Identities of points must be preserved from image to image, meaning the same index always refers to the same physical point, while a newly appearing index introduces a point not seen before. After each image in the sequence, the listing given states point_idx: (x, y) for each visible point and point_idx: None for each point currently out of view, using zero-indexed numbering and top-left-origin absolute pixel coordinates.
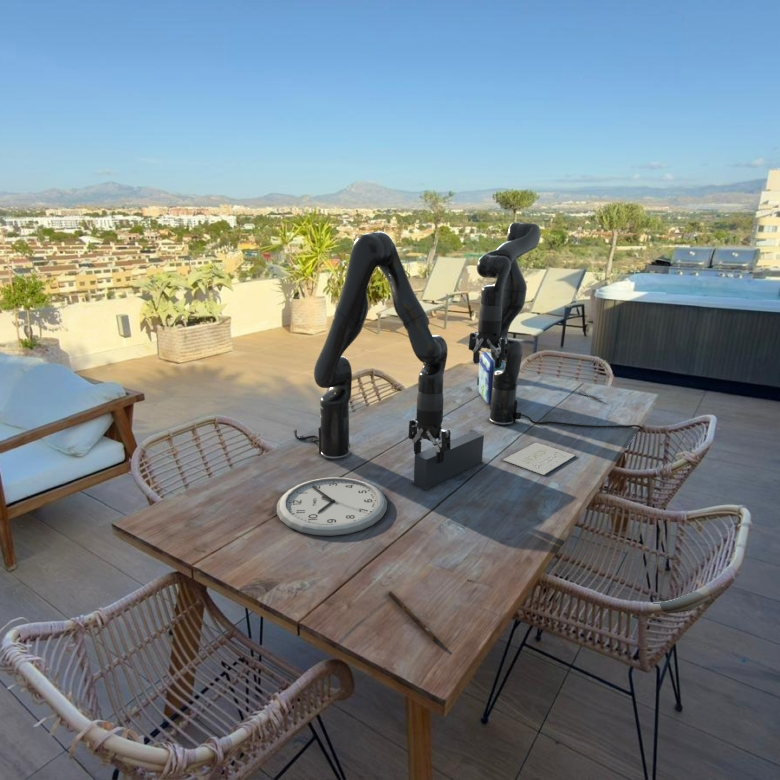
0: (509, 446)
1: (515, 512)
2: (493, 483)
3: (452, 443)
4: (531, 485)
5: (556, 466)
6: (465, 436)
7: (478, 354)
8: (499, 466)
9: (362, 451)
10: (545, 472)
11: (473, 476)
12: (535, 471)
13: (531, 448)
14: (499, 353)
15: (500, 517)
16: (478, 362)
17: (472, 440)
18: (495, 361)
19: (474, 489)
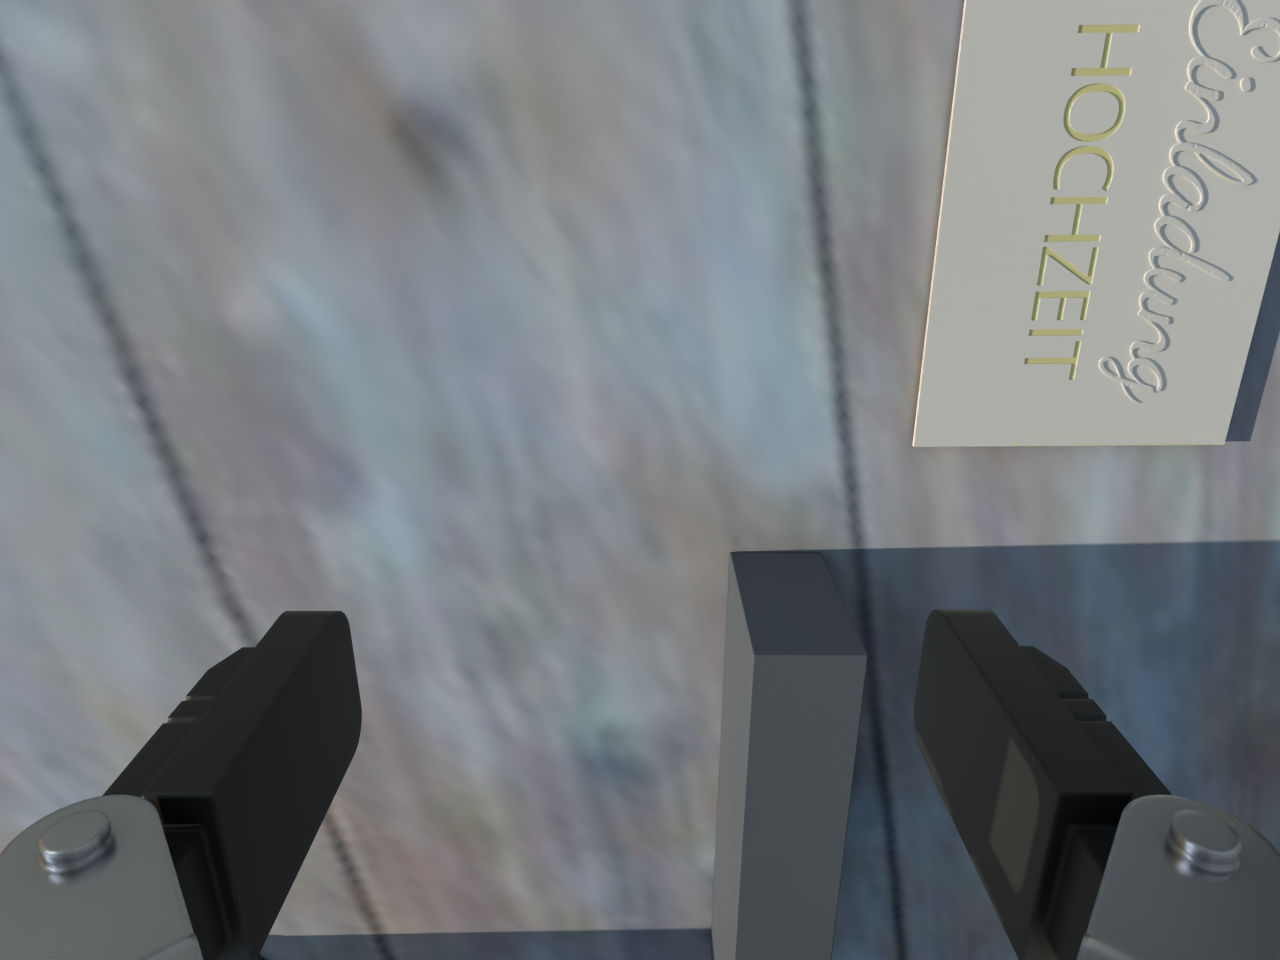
0: (827, 184)
1: None
2: None
3: (785, 894)
4: (1193, 592)
5: (1267, 267)
6: (779, 763)
7: (256, 813)
8: (936, 524)
9: None
10: (1226, 409)
11: (883, 719)
12: (1164, 442)
13: (997, 102)
14: (1153, 931)
15: None
16: (344, 634)
17: (853, 773)
18: (991, 869)
19: None
